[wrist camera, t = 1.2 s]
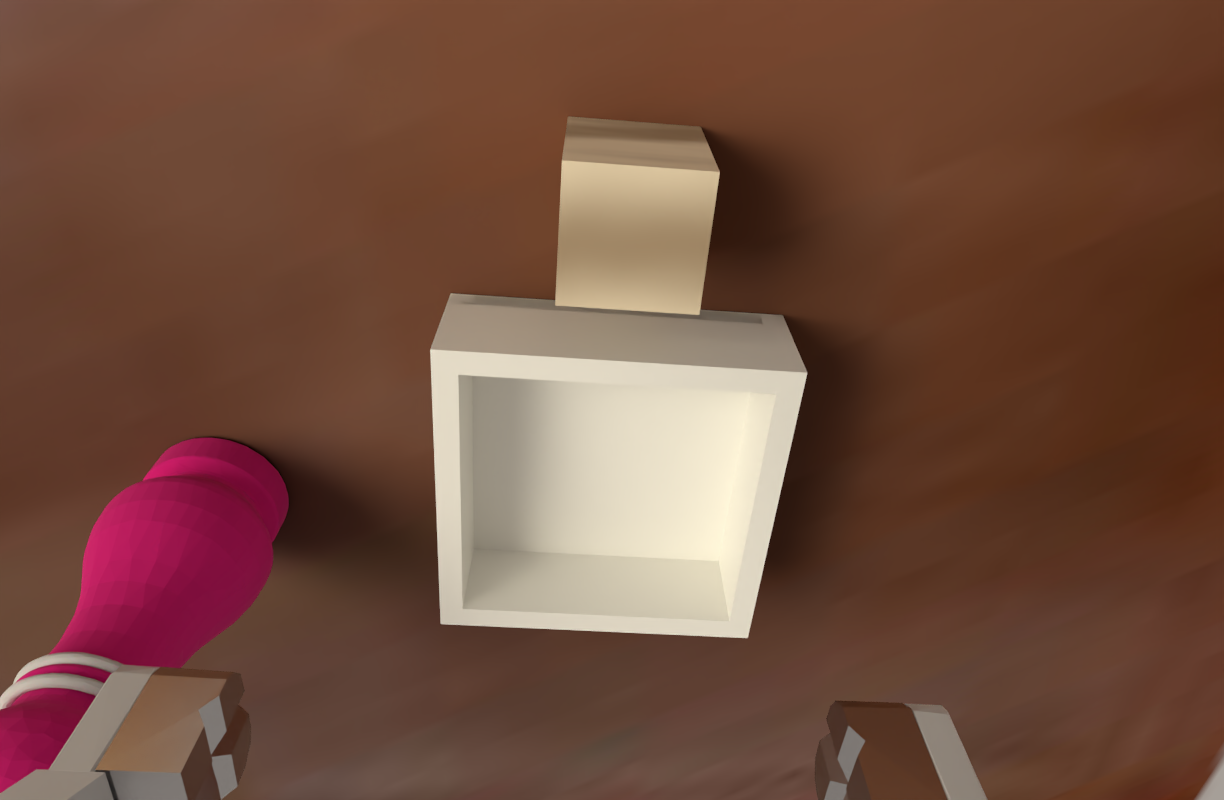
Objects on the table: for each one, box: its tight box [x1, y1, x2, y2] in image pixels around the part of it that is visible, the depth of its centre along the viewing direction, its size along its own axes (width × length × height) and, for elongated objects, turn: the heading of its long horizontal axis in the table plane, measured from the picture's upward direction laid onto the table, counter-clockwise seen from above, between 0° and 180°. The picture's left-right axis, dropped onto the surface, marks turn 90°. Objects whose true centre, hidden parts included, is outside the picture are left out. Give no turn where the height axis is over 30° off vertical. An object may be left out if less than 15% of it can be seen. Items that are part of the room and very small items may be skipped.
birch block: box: [555, 117, 720, 315], centre depth 31 cm, size 5×5×6 cm
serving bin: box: [430, 293, 807, 638], centre depth 37 cm, size 14×14×5 cm
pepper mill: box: [0, 437, 289, 793], centre depth 32 cm, size 7×7×20 cm
